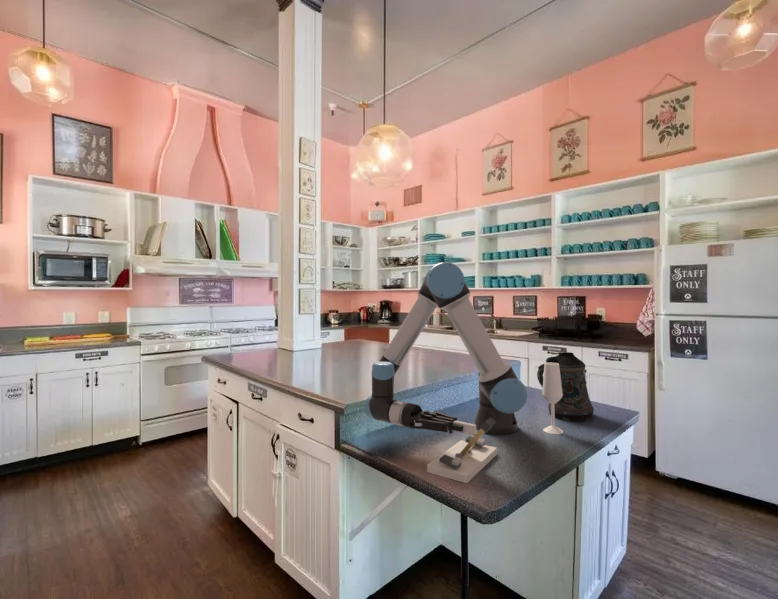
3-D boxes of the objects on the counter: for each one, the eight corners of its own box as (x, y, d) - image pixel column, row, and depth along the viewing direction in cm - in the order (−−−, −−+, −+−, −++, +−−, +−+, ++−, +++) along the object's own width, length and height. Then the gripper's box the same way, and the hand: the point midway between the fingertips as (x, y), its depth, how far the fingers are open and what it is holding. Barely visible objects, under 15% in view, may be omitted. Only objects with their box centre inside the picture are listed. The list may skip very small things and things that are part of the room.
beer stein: (603, 419, 148) (602, 354, 148) (560, 425, 143) (558, 357, 143) (573, 407, 164) (572, 349, 164) (533, 412, 159) (532, 351, 159)
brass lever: (463, 449, 116) (490, 416, 110) (468, 454, 115) (496, 422, 109) (456, 454, 112) (484, 421, 107) (461, 459, 111) (490, 426, 106)
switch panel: (461, 446, 126) (460, 435, 126) (497, 454, 119) (496, 442, 119) (427, 472, 108) (426, 459, 108) (467, 483, 101) (466, 469, 101)
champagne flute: (551, 435, 133) (549, 365, 133) (539, 428, 140) (537, 362, 140) (567, 432, 135) (566, 364, 135) (554, 426, 142) (553, 361, 141)
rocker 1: (444, 457, 109) (445, 451, 109) (461, 465, 106) (462, 459, 106) (439, 461, 107) (440, 455, 106) (456, 469, 104) (457, 463, 103)
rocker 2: (469, 438, 123) (470, 433, 123) (484, 445, 120) (485, 439, 120) (465, 441, 120) (466, 436, 120) (480, 448, 117) (481, 442, 117)
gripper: (417, 421, 130) (483, 436, 116) (394, 431, 119) (465, 450, 105) (417, 398, 130) (484, 411, 116) (394, 407, 119) (465, 423, 105)
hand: (475, 430), depth 110 cm, fingers closed
